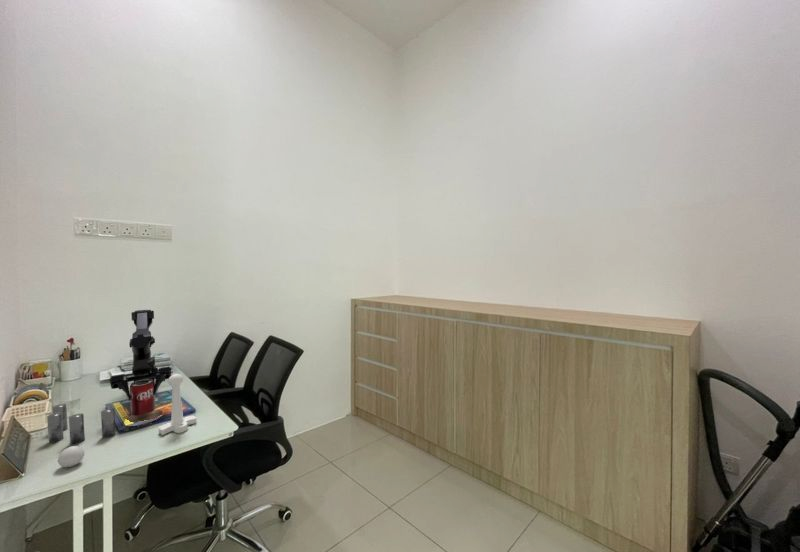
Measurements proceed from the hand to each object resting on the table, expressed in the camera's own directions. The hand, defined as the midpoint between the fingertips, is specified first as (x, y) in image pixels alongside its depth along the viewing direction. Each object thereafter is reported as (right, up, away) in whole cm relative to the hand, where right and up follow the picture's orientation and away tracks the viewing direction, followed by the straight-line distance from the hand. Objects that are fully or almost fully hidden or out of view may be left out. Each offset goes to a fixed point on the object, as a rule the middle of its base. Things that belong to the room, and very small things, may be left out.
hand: (142, 397), depth 124 cm
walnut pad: (-1, -9, +1) cm, 9 cm away
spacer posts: (-15, -10, -9) cm, 20 cm away
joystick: (+19, -9, -7) cm, 22 cm away
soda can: (-1, -7, +1) cm, 7 cm away
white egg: (0, -11, -27) cm, 29 cm away
